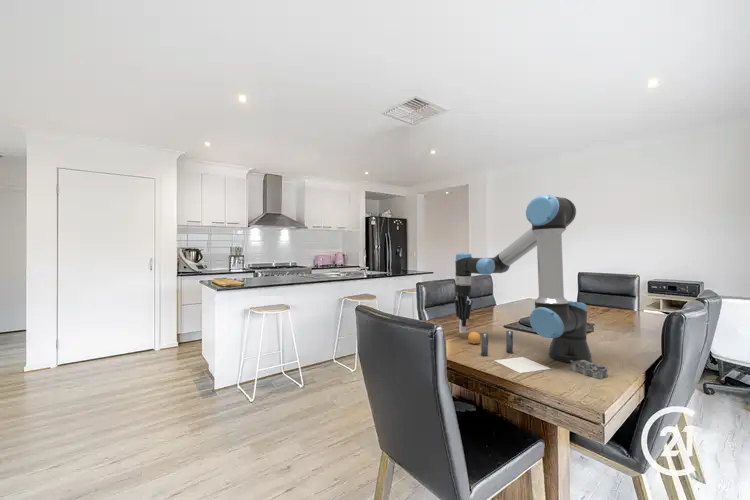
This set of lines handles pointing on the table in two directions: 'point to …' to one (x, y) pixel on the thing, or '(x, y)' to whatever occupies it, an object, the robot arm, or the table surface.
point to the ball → (474, 337)
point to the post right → (509, 341)
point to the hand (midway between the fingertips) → (462, 332)
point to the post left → (484, 344)
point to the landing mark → (522, 365)
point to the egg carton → (589, 368)
